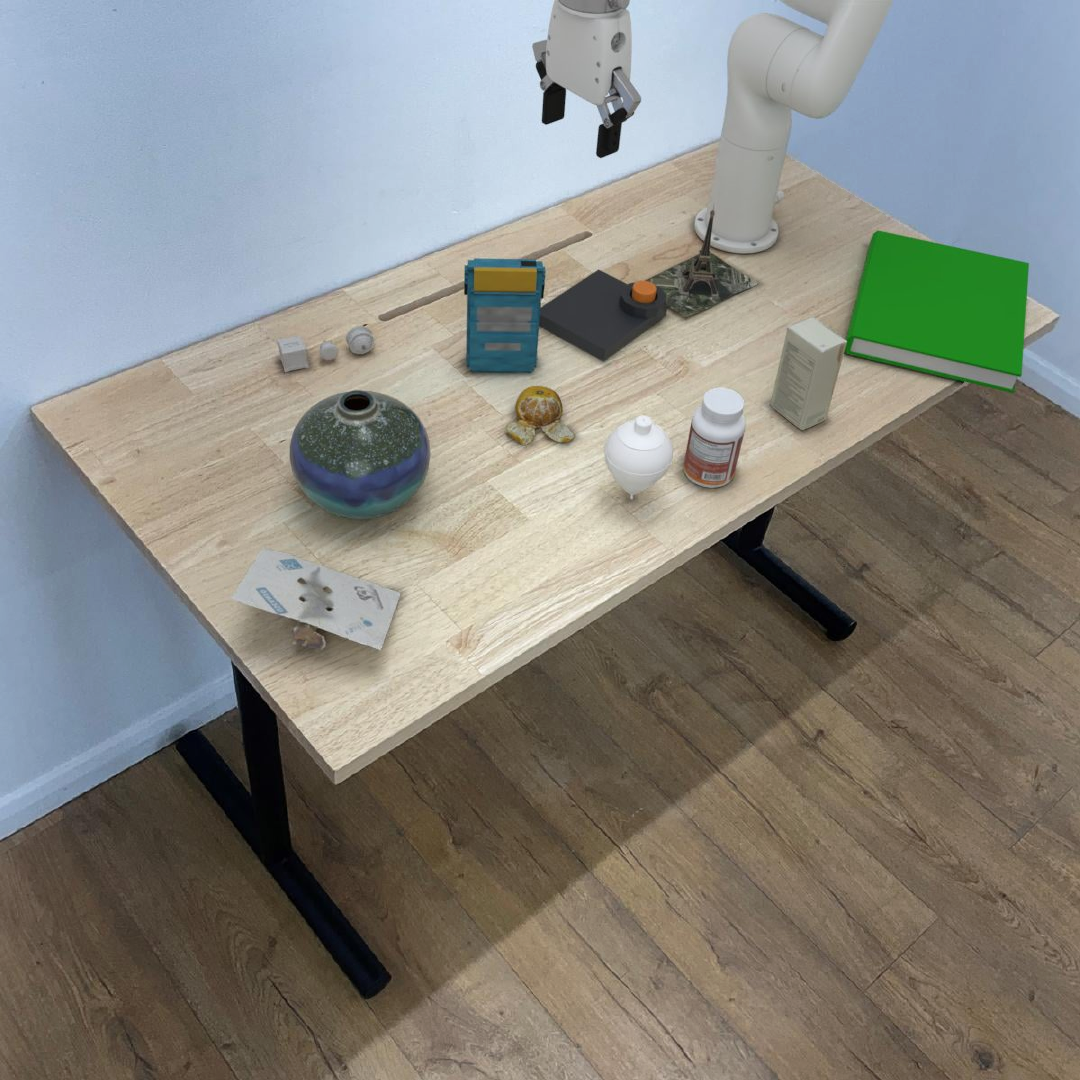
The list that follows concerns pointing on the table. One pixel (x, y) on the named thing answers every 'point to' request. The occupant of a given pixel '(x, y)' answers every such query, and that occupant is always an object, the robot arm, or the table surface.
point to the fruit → (538, 416)
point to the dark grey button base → (601, 314)
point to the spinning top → (638, 454)
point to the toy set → (322, 348)
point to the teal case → (503, 314)
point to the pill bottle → (715, 438)
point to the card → (318, 599)
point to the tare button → (644, 292)
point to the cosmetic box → (807, 372)
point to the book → (941, 311)
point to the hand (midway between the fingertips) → (579, 137)
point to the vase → (360, 454)
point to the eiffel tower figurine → (700, 280)
